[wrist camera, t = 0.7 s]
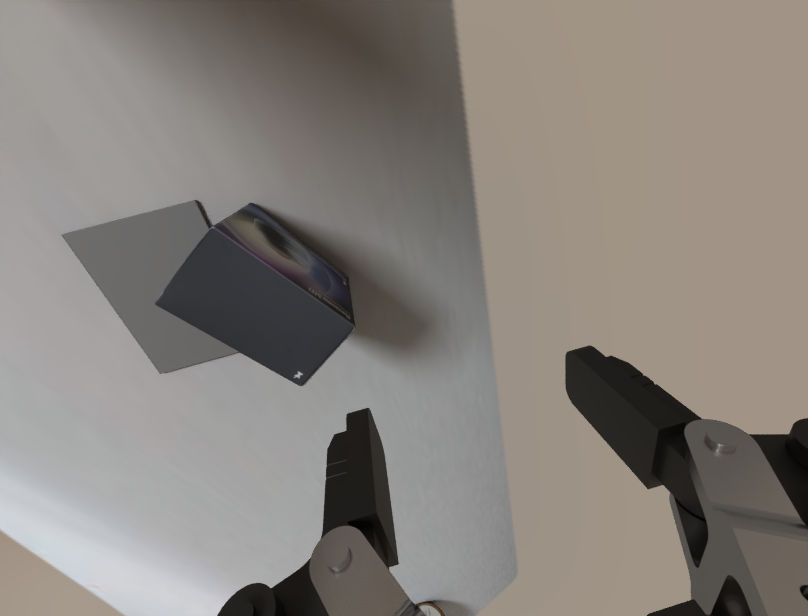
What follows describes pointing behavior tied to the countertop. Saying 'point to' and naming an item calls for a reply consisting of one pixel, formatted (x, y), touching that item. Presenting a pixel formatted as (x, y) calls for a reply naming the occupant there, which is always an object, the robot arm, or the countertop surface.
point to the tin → (430, 609)
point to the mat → (148, 279)
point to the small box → (263, 295)
